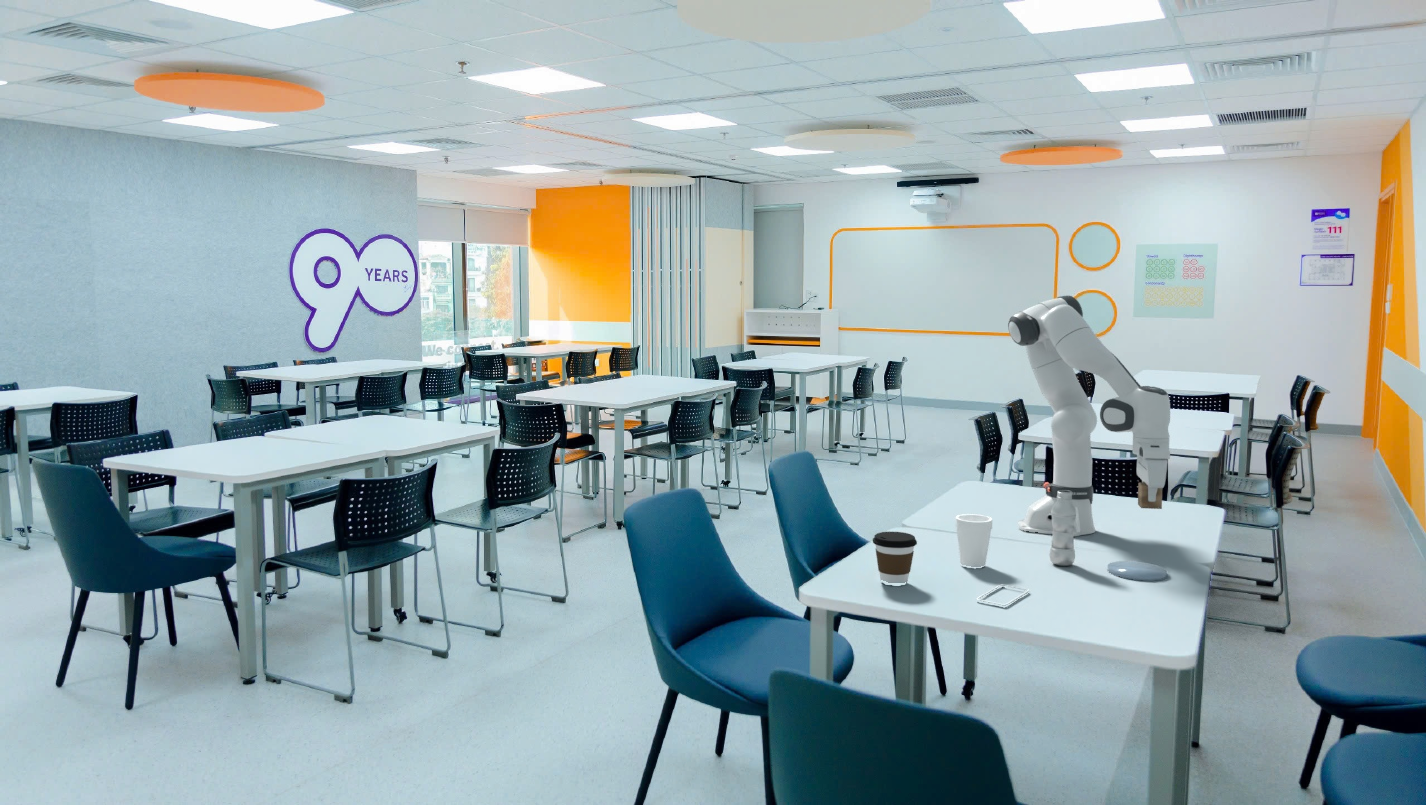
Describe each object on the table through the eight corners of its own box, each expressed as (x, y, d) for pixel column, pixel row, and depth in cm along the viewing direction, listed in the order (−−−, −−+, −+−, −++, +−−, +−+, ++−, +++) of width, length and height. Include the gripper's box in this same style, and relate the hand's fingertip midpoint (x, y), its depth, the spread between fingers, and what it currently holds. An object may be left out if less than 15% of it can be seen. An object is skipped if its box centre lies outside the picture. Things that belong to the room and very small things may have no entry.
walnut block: (1141, 508, 247) (1141, 485, 246) (1137, 504, 251) (1138, 482, 251) (1161, 508, 245) (1162, 486, 245) (1158, 504, 250) (1158, 483, 250)
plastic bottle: (1074, 562, 250) (1077, 489, 248) (1075, 569, 244) (1078, 494, 242) (1048, 560, 252) (1051, 488, 250) (1049, 567, 246) (1051, 493, 244)
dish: (1111, 578, 236) (1111, 573, 236) (1104, 563, 249) (1104, 559, 249) (1171, 582, 232) (1172, 578, 232) (1161, 567, 245) (1161, 563, 245)
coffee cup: (890, 592, 225) (891, 543, 224) (863, 580, 235) (863, 533, 234) (925, 585, 230) (926, 538, 229) (897, 574, 240) (898, 529, 239)
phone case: (1005, 610, 213) (1030, 594, 224) (1005, 604, 213) (1030, 589, 224) (974, 604, 218) (1000, 589, 229) (975, 598, 217) (1000, 583, 229)
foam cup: (993, 563, 250) (994, 516, 249) (988, 572, 242) (989, 523, 240) (957, 559, 254) (958, 512, 253) (951, 568, 246) (952, 520, 244)
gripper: (1131, 441, 258) (1130, 490, 259) (1144, 452, 238) (1143, 505, 239) (1156, 442, 256) (1154, 491, 257) (1171, 453, 236) (1169, 506, 238)
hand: (1149, 498), depth 248 cm, fingers closed on walnut block, 5 cm apart
